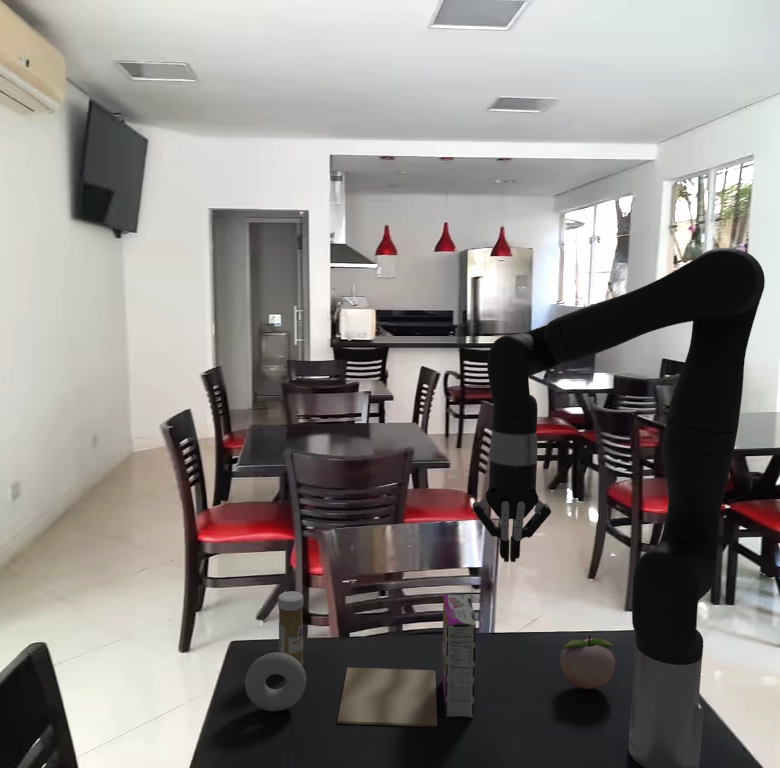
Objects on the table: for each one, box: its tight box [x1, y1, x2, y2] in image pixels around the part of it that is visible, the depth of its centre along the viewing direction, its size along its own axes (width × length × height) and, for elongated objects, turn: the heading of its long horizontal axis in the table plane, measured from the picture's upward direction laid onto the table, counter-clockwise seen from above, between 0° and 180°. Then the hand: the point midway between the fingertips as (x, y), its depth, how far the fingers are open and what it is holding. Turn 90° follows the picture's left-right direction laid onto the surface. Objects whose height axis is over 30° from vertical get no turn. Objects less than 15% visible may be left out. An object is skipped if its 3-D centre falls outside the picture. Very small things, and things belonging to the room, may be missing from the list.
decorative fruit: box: [560, 634, 616, 690], centre depth 125 cm, size 9×8×10 cm
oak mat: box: [336, 666, 438, 728], centre depth 123 cm, size 16×16×1 cm
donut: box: [244, 651, 307, 712], centre depth 118 cm, size 10×4×10 cm, turn 97°
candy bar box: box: [441, 593, 477, 718], centre depth 121 cm, size 11×5×16 cm, turn 179°
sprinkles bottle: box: [277, 591, 304, 666], centre depth 132 cm, size 5×5×14 cm
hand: (509, 560), depth 119 cm, fingers closed
